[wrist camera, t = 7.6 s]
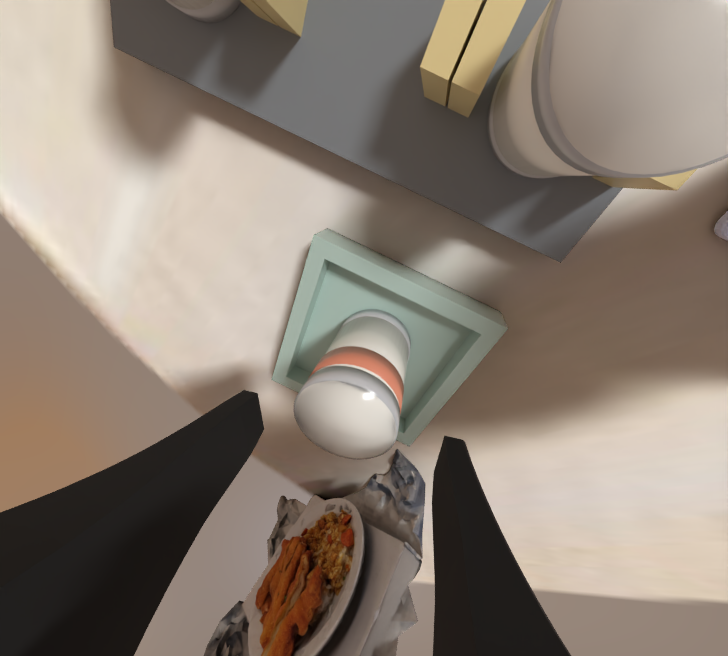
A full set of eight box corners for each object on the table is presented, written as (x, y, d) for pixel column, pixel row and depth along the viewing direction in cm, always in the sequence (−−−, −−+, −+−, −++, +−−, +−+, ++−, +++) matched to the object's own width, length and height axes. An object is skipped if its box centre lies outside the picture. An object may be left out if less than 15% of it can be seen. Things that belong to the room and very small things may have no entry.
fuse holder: (750, 3, 8) (1012, -142, 4) (550, 255, 12) (598, 287, 8) (127, -296, 8) (-129, -688, 4) (141, 58, 12) (16, 7, 8)
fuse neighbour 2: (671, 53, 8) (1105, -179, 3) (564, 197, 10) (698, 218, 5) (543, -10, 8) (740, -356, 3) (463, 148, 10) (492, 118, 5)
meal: (393, 443, 20) (340, 776, 9) (426, 479, 21) (415, 817, 10) (271, 485, 27) (154, 704, 16) (300, 511, 28) (210, 732, 17)
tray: (500, 311, 14) (508, 328, 12) (411, 424, 19) (409, 446, 17) (327, 228, 14) (313, 234, 12) (285, 363, 19) (271, 379, 17)
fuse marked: (404, 377, 16) (390, 469, 11) (338, 363, 17) (295, 444, 12) (417, 316, 14) (405, 394, 9) (341, 303, 15) (291, 368, 10)
